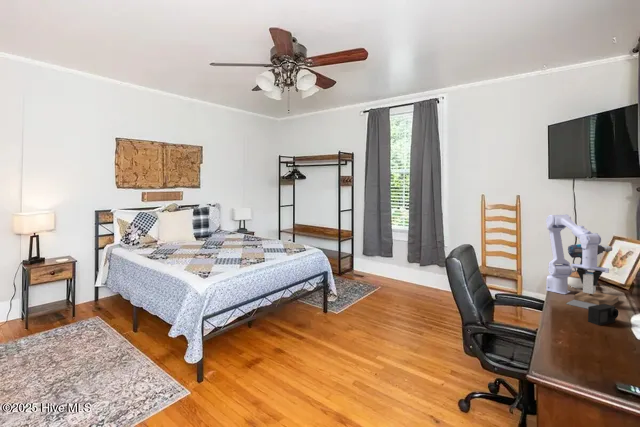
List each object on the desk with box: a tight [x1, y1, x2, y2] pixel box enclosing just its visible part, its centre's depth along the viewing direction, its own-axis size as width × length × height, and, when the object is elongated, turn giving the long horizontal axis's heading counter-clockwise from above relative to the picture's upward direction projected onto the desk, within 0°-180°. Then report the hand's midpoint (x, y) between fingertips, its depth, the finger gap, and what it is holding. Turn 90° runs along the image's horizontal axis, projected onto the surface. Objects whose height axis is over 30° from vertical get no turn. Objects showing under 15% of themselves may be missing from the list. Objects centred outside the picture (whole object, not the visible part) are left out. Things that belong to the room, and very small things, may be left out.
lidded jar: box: [568, 270, 583, 289], centre depth 189 cm, size 11×11×9 cm
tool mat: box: [565, 299, 597, 310], centre depth 158 cm, size 14×10×1 cm
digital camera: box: [587, 304, 619, 326], centre depth 138 cm, size 10×5×7 cm, turn 107°
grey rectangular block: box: [582, 273, 597, 294], centre depth 159 cm, size 4×4×9 cm
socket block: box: [574, 290, 620, 306], centre depth 166 cm, size 14×14×2 cm
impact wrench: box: [567, 243, 613, 285], centre depth 194 cm, size 8×23×25 cm, turn 78°
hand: (589, 284), depth 159 cm, fingers closed on grey rectangular block, 4 cm apart
